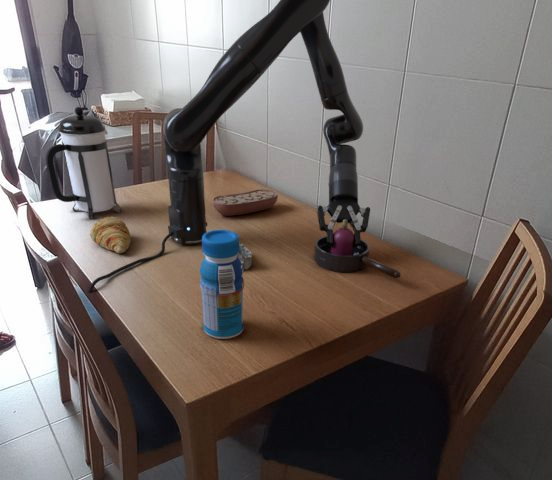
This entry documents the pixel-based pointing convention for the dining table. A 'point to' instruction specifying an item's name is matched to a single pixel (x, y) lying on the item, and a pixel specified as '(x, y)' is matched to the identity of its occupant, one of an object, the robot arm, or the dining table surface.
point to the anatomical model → (245, 202)
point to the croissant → (111, 234)
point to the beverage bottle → (222, 284)
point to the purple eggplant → (343, 241)
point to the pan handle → (381, 267)
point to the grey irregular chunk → (244, 256)
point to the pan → (340, 257)
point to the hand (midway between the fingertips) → (343, 245)
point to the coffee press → (84, 164)
